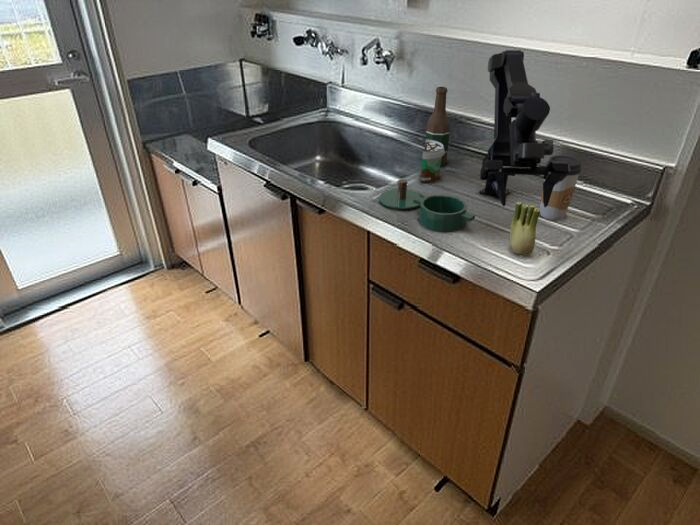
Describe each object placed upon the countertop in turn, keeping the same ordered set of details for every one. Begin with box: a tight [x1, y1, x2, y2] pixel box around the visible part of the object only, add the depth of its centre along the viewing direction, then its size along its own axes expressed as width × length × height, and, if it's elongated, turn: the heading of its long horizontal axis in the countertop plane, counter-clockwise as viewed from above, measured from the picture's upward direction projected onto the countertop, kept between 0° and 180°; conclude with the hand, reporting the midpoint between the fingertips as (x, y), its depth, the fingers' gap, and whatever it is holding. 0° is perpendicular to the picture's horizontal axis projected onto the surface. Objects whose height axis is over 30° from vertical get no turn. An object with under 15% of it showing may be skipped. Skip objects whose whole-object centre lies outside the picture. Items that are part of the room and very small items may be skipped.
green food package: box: [420, 138, 445, 184], centre depth 149 cm, size 12×6×10 cm, turn 168°
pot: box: [413, 194, 476, 233], centre depth 125 cm, size 11×17×5 cm
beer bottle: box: [425, 86, 451, 168], centre depth 155 cm, size 8×8×24 cm
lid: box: [378, 178, 425, 210], centre depth 135 cm, size 12×12×6 cm
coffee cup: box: [539, 154, 582, 221], centre depth 126 cm, size 8×8×15 cm
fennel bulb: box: [509, 201, 541, 257], centre depth 110 cm, size 6×5×12 cm
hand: (524, 206), depth 111 cm, fingers open, 9 cm apart
